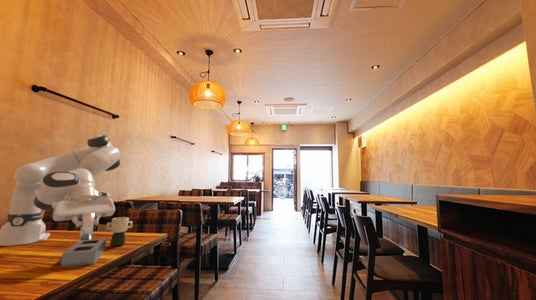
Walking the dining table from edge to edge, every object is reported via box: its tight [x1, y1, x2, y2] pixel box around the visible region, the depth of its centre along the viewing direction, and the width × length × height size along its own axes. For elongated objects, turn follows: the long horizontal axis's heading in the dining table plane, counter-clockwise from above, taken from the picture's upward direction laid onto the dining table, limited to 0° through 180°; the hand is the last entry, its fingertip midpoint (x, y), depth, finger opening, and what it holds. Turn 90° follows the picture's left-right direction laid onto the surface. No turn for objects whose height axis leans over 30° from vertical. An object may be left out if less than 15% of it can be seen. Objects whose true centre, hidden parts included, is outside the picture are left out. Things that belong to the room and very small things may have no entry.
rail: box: [60, 237, 107, 269], centre depth 93 cm, size 20×10×5 cm, turn 26°
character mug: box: [105, 216, 134, 247], centre depth 112 cm, size 11×7×13 cm, turn 122°
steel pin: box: [78, 213, 95, 241], centre depth 90 cm, size 4×4×10 cm
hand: (87, 225), depth 90 cm, fingers closed on steel pin, 4 cm apart
